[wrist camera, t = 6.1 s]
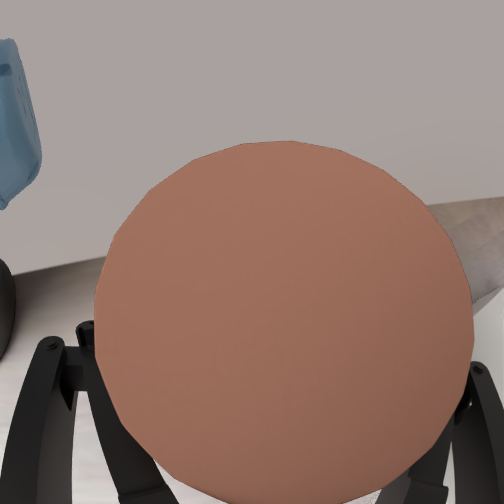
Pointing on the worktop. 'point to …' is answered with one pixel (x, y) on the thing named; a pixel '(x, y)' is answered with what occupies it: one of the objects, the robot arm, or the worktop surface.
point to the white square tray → (485, 356)
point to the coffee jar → (283, 325)
